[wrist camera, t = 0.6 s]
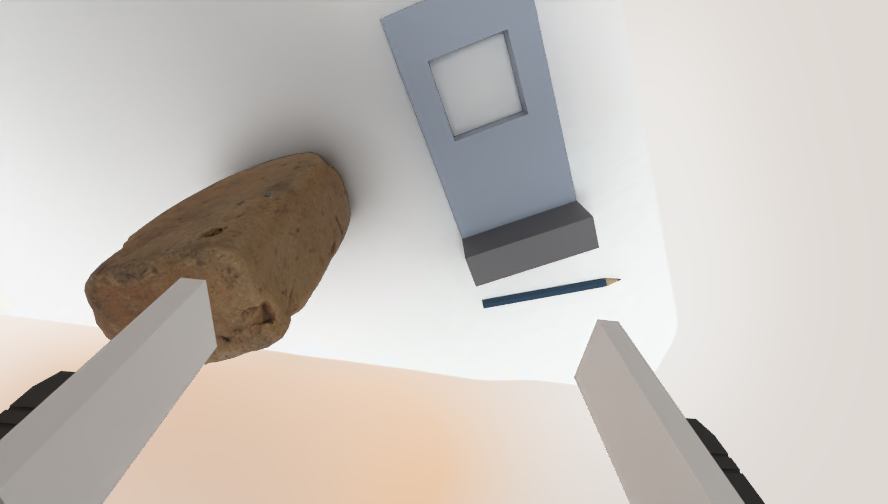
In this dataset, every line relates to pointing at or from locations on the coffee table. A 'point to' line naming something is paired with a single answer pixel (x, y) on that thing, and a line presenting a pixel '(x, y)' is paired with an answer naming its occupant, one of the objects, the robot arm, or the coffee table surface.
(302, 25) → the coffee table surface
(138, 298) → the block
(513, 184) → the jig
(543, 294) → the pencil
